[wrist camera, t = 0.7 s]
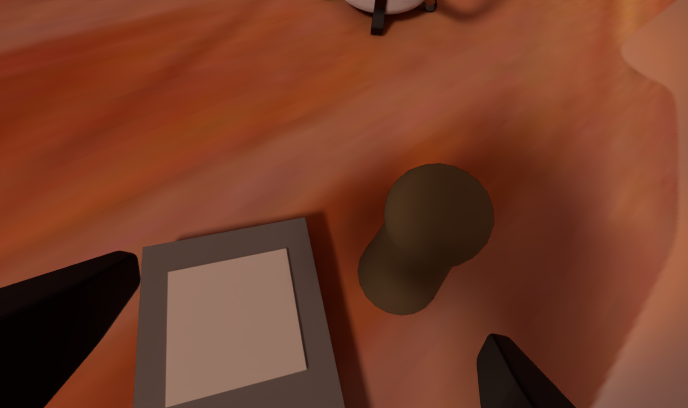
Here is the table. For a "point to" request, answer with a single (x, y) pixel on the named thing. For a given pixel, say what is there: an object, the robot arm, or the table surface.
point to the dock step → (234, 323)
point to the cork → (424, 236)
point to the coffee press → (387, 9)
